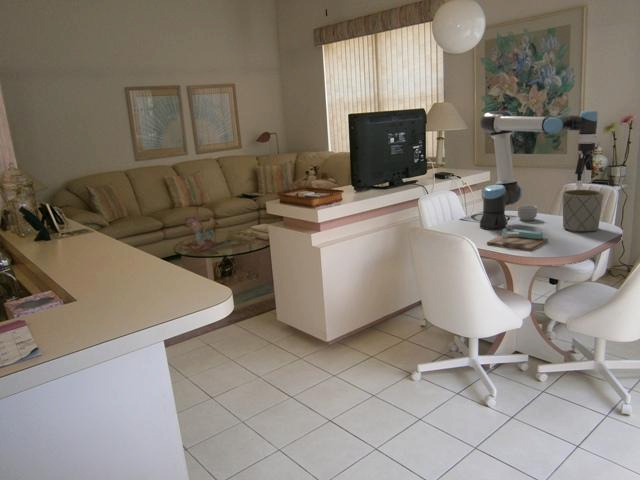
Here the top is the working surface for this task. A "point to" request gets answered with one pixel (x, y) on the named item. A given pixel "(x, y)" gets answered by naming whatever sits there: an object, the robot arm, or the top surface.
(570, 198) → the planter
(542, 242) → the pivot board
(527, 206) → the teacup
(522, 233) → the latch bar
